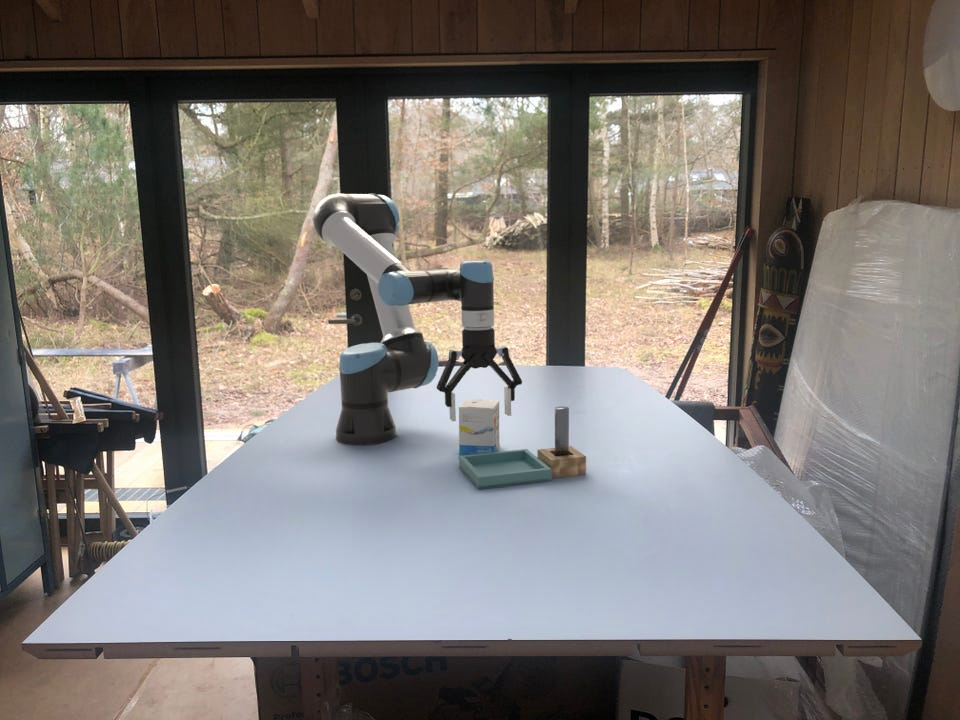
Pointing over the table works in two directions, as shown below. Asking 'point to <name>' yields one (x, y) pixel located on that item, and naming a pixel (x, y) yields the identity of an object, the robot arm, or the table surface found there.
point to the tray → (504, 469)
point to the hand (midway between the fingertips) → (480, 417)
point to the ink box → (478, 427)
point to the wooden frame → (564, 462)
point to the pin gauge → (561, 431)
